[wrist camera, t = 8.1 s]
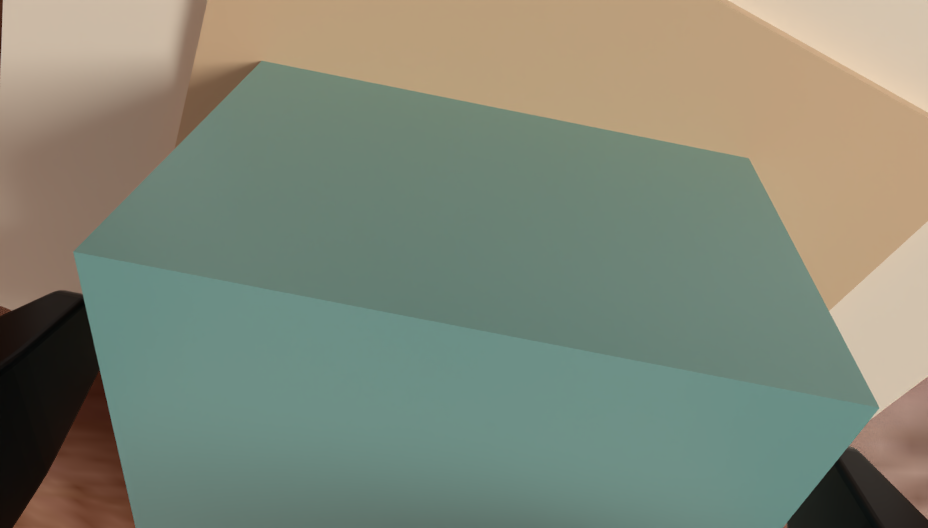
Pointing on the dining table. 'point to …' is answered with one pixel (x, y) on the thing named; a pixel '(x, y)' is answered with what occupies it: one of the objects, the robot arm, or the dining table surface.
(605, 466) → the mint green cube
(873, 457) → the dining table surface
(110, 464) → the dining table surface
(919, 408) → the dining table surface
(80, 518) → the dining table surface
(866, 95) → the board
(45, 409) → the robot arm
